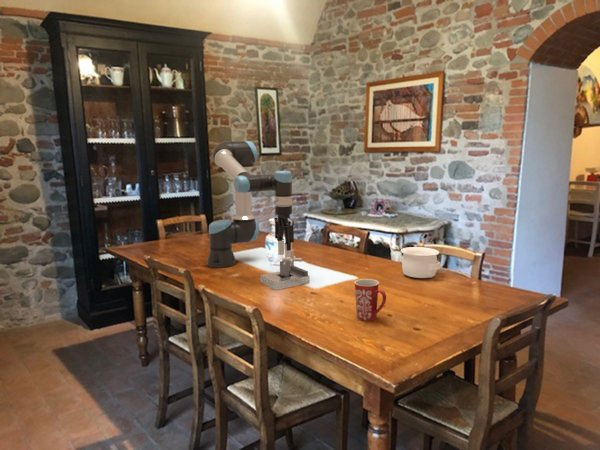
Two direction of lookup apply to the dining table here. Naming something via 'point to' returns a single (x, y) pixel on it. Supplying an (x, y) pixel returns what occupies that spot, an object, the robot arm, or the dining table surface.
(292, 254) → the tan toy jack
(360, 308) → the mug
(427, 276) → the pot
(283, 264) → the dark steel cylinder
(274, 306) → the dining table surface
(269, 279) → the block
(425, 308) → the dining table surface
